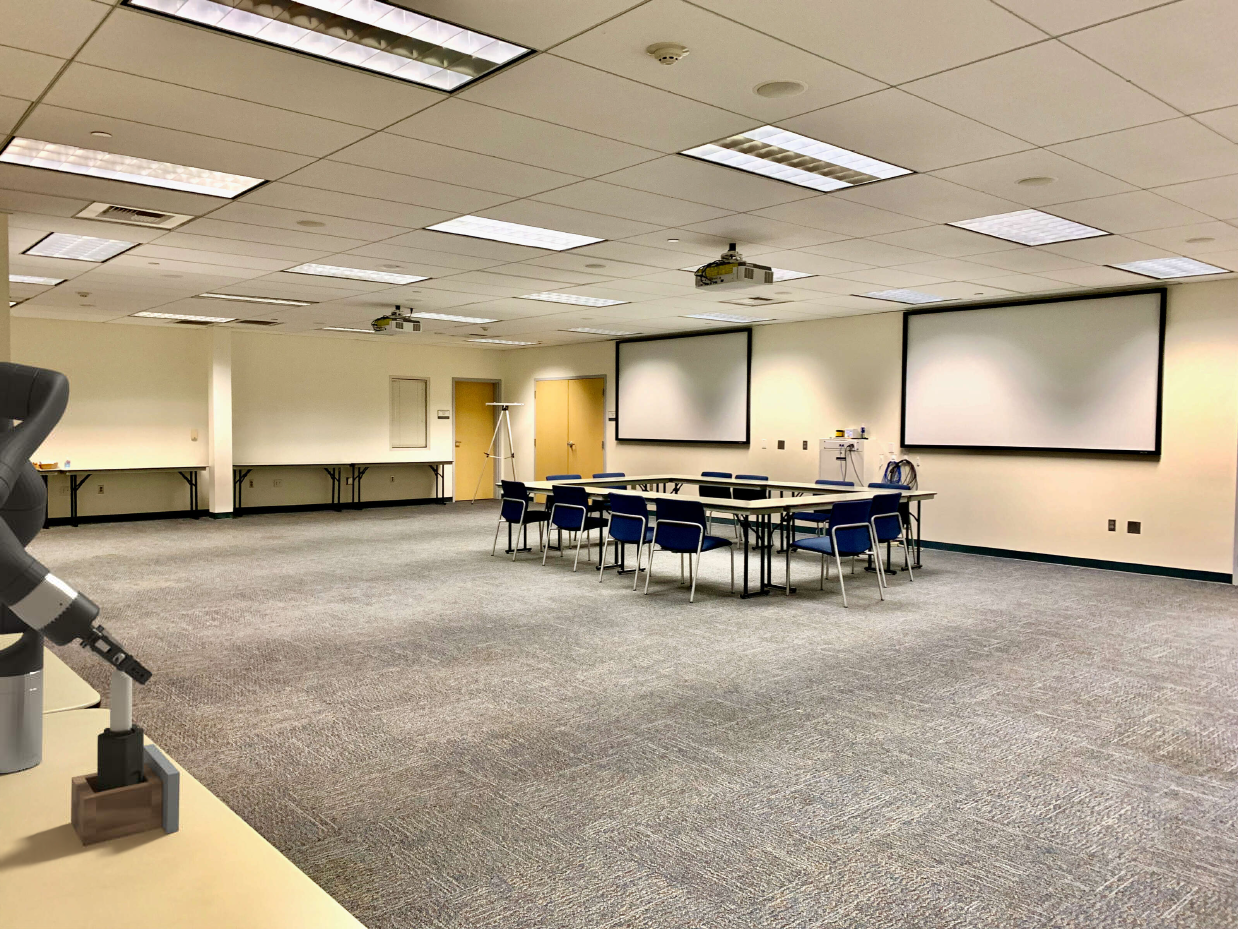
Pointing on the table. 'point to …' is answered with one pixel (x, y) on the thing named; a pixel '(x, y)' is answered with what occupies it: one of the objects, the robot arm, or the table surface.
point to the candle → (120, 739)
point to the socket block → (115, 808)
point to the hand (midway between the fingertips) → (141, 674)
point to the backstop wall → (165, 786)
